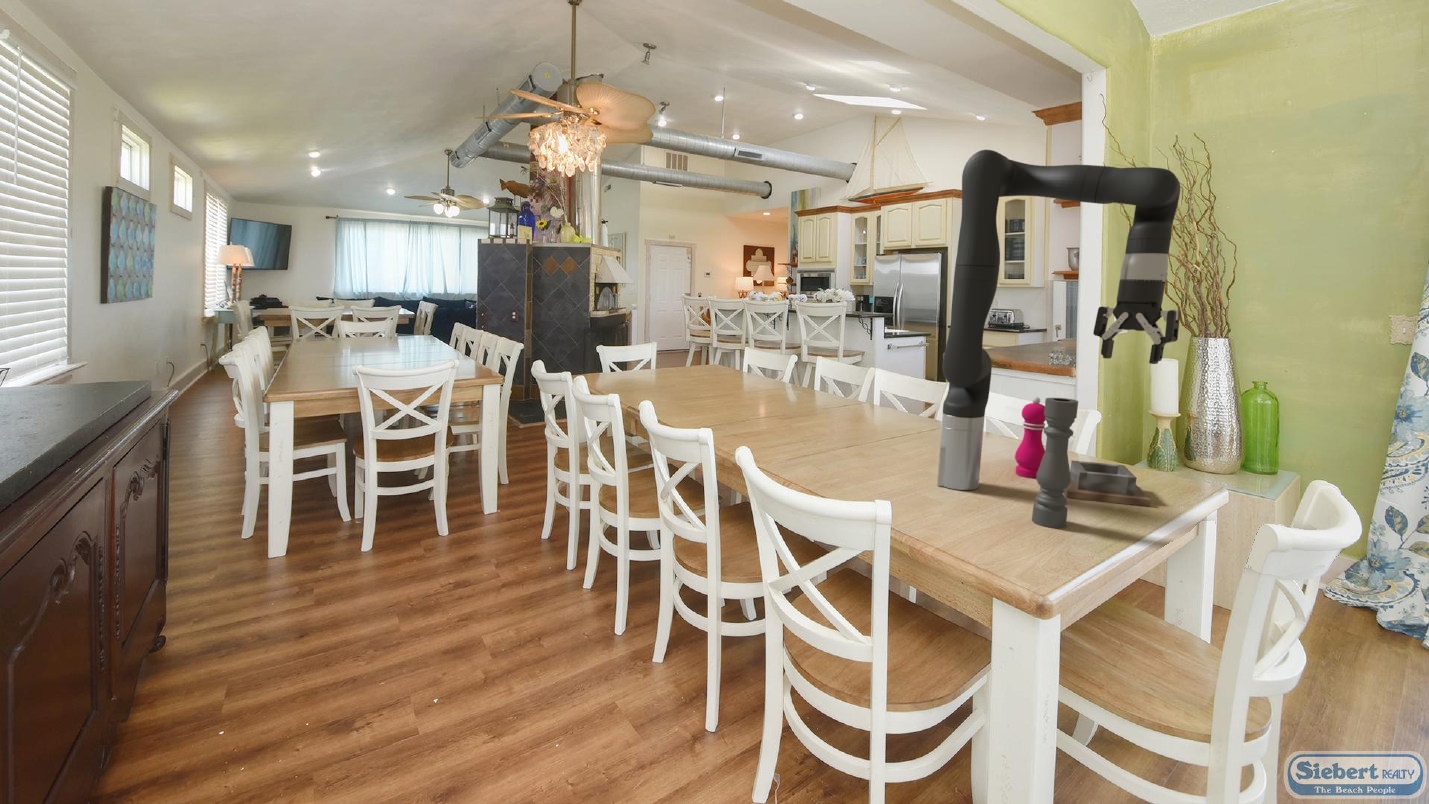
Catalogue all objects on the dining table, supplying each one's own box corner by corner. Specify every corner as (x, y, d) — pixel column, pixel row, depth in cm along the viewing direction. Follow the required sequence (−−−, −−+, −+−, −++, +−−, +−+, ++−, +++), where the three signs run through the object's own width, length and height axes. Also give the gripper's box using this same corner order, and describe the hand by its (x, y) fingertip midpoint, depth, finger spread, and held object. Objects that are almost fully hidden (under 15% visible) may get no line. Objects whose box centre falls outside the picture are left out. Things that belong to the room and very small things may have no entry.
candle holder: (1025, 517, 130) (1037, 397, 125) (1054, 516, 130) (1066, 397, 126) (1043, 528, 124) (1056, 402, 119) (1073, 527, 124) (1087, 402, 120)
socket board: (1066, 497, 143) (1069, 474, 142) (1056, 478, 157) (1058, 456, 156) (1149, 506, 137) (1153, 482, 136) (1130, 485, 152) (1133, 463, 151)
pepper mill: (1048, 479, 156) (1057, 400, 153) (1017, 477, 158) (1024, 398, 154) (1040, 471, 163) (1047, 395, 160) (1010, 469, 165) (1017, 394, 161)
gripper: (1094, 277, 127) (1083, 357, 130) (1176, 278, 115) (1161, 366, 118) (1113, 278, 131) (1101, 356, 134) (1193, 279, 119) (1179, 364, 122)
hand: (1129, 360), depth 126 cm, fingers open, 8 cm apart
